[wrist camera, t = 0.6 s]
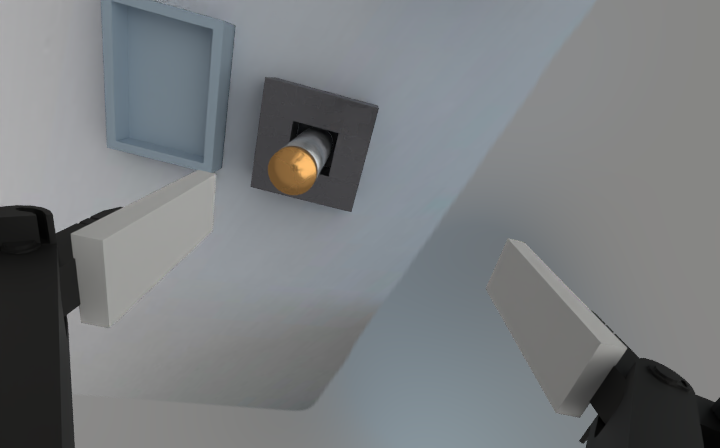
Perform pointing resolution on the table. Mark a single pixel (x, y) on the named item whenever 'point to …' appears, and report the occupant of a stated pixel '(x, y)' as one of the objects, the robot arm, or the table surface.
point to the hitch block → (322, 110)
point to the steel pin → (300, 161)
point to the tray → (166, 82)
